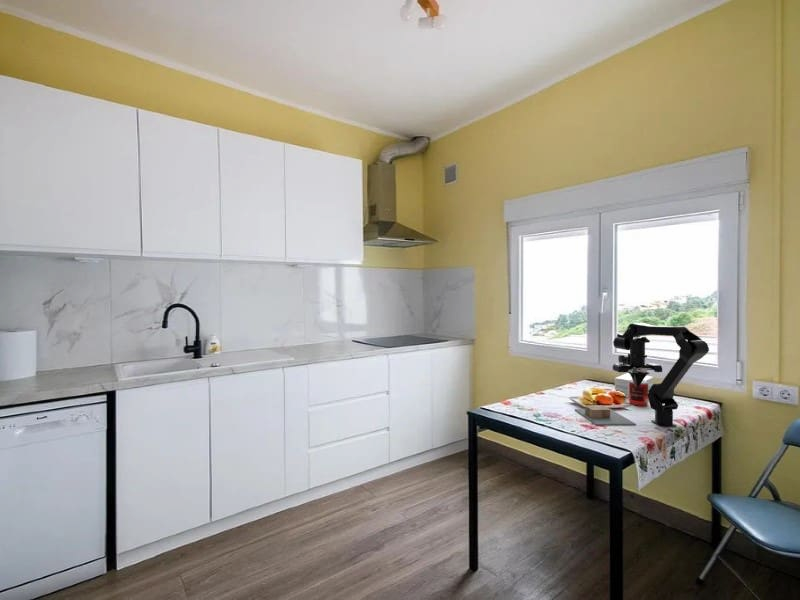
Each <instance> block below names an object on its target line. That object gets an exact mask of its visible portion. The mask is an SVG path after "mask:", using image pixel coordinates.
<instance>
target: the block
mask: <svg viewBox="0 0 800 600" xmlns="http://www.w3.org/2000/svg"><path fill="white" fill-rule="evenodd" d="M584 409H585V414H586V415H588V416H589V417H591V418H610V409H611V408H609V407H606V406H605V405H603V404H602V405H601V404H600V405H584Z"/></svg>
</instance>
